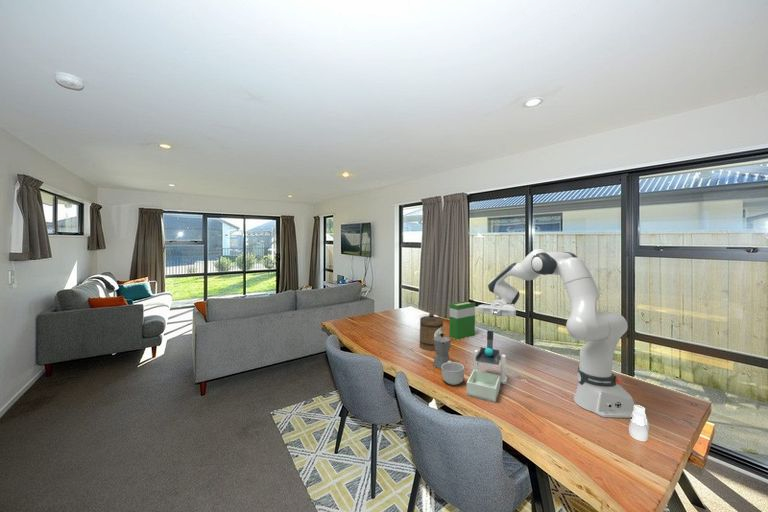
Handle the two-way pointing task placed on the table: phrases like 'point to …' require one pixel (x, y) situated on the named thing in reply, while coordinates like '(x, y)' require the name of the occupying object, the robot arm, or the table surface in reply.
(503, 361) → the lever frame
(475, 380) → the bin
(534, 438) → the table surface
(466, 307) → the cereal box
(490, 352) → the ball
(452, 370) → the teacup
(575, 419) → the table surface
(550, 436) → the table surface
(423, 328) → the wooden container
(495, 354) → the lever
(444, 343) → the coffeepot
